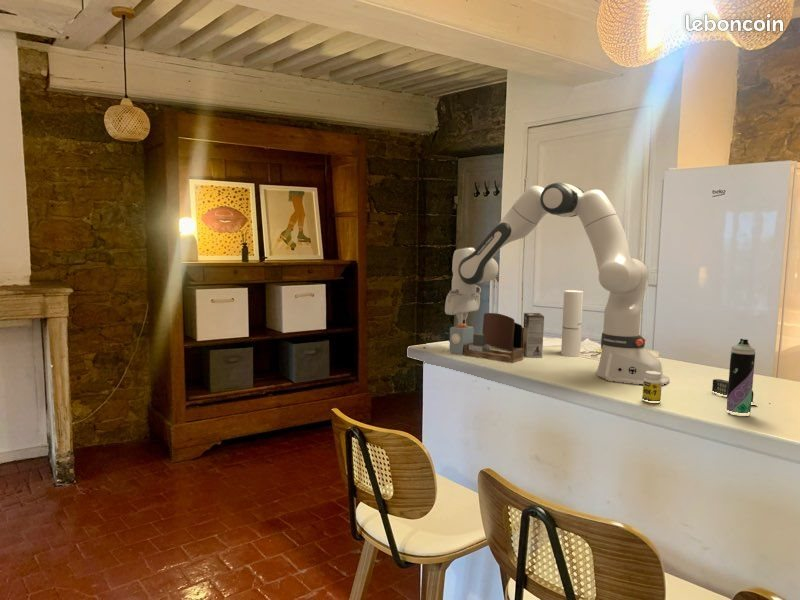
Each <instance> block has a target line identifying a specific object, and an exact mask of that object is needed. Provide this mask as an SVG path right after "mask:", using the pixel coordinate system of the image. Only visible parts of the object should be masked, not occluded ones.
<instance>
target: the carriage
mask: <svg viewBox="0 0 800 600" xmlns="http://www.w3.org/2000/svg"><path fill="white" fill-rule="evenodd" d="M468 350H470V351H476V352H483V353H490V350H491V346H490V345H488V344H486V335H483V334H482V333H474V334H473V344H470V345H469V347H468Z"/></svg>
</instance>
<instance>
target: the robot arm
mask: <svg viewBox="0 0 800 600" xmlns="http://www.w3.org/2000/svg"><path fill="white" fill-rule="evenodd" d="M547 214H551V215H554V216H558V217H561V218H562V217H563V218H565V217H566V218H567V217H568V218H573V217H578V218H579V220H580V221H581V223H582V226H583V228H584V232H585V234H586V235H587V237H588V240H589V242H590V244H591V247H592V249H593V252H594V257H595V263H596V266H597V270H598V281H599V284H600V286H601V287H602V288H603V289H604V290H606V291H608V292H609V295H608V299H607V302H606V305H605V307H604V311H603V313H604V314H603V328H602V329H603V332H602V333H601V338H600V349H601V353H600V358H599V362H598V366H597V369H596V372H595V374H596V376H598V377H599V378H602V379H604V378H605V379H606V381H607V380H608V381H607V382H613V381H615V383H622V382H624V384H630V383H633V385H639V384H643V381H644V378H646V377H645V373H646V371H656V372H660V373H661V378H660V380H661V381H662V385H663V386H665V385H664V384H666V385H668V384H669V383H670V382H669V381H671V380H670V377H669V376H667V375H663V373H664V371H663V365H662V363H661V362H662V361H661V360H660V359H659V358H657V357H656V356H655V355H654V354H653V353H651V352H650V351H649V350H648V349H647V348H645V345H646V341H647V340H646V339H647V338H646V337H643V336H642V335H640V323H641V311H642V304H643V301H644V297H645V296H644V295H645V293H646V286H647V281H648V278H649V270H648V268H647V266H646V265H645V263H643V262H642V261H640V260H639V259H637V258H632V256H631V254H630V250H629V245H628V240H627V239H628V238H627V234H626V232H625V230H624V228H623V227H624V226H623V225H622V222H621V220H620V218H619V216H618V214H617V212H616V210H615V208H614V206H613V204H612V202H611V201H610V200H609V198H608V197H607V194H605V193H604V192H603V191H602V190H600V189H590V190H587V191H584V190H583V189H581V188H579V187H577V186H574V185H573V184H569V183H562V182H554V183H550V184H549V185H547V186H545V188H544V187H542V186H540V185H531V186H530V187H529V188H527V190H525V192H524V193H522V194H521V195H520V196H519V198H518V199H517V200H516V201H515V203H514V204H513V205H512V206H511V208H510V209H509V210H508V212H507V213H506V214H505V215H504V217H502V219H501V221H500V222H498V224H497V225H496V226H495V227H494V228H493V229H492V230H491V232H490V233H488V235H487V236H486V237H485V238H484V239H483V241H482V242H480V245H478V246H477V248H476V249H475V247H473V246H466V247H465V246H464V247H459V248H457V249H456V250H454V252H453V256H452V268H451V271H452V279H451V290H449V292H448V293H447V295H446V298H445V304H444V312H445V315H450V316H455V315H456V318H457V324H459V325H462V324H467V318H468V315H469V313H472V312H477V311H479V309H480V303H481V295H480V293H481V292H482V289H481V287H480V286H478V285H477V284H478V283H487V282H491V281H494V280H495V279H496V278H497V276H498V274H499V271H500V267H499V264H498V263H499V262H498V261H497V260H496V259H495V258H493V257H494V256H495V255H496V254H497V253H498V252H499V250H500V249H501V248H502V247H504V246H506V245H507V244H510V243H511V242H514V241H517V240H520V239H524V238H526V236H528V235H529V234H530V233H531V232H532V231H533V230H535V228H536V227H537V226H538V225H539V223H540V221H541V220H542V219H543V218H544V217H545V215H547ZM605 379H604V380H605ZM668 382H669V383H668ZM667 383H668V384H667Z"/></svg>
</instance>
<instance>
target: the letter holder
mask: <svg viewBox="0 0 800 600" xmlns="http://www.w3.org/2000/svg"><path fill="white" fill-rule="evenodd" d="M482 322H483V323H482V333H481V334H483V335H486V344H488V345H490V347H493V348H498V349H502V350H505V351H507V352H512V351H515V350H519V349H523V326H522V325H521V324H520V323H518V322H515V319H514V318H512V317H511V316H507V315H505V314H501V313H496V312H486V313H484V314H483V320H482Z"/></svg>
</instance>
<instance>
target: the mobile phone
mask: <svg viewBox="0 0 800 600" xmlns="http://www.w3.org/2000/svg"><path fill="white" fill-rule="evenodd" d="M728 383H729V380H724V379H720V378H719V379H718V378H715V379H712V386H711V388H712V391H714V392H717V393H720V394H723V395H727V396H728ZM712 391H711V392H712ZM751 402H753V403H754V391H753V390H752V399H751Z"/></svg>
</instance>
